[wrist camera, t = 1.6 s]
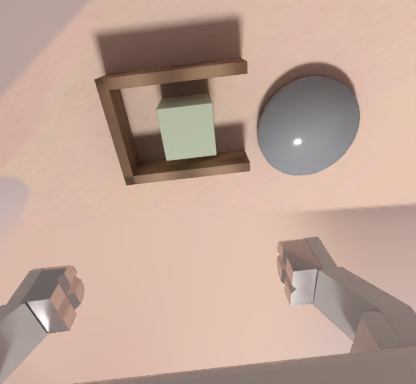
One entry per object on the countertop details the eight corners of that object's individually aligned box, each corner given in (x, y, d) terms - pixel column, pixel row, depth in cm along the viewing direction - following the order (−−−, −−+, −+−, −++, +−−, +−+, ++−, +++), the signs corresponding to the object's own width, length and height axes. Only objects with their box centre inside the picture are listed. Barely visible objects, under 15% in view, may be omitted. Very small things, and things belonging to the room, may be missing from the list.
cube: (209, 92, 28) (211, 103, 24) (213, 138, 30) (216, 155, 26) (162, 98, 28) (156, 109, 24) (170, 143, 30) (166, 160, 26)
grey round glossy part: (362, 69, 27) (369, 70, 26) (345, 165, 33) (350, 170, 32) (256, 82, 27) (258, 83, 26) (257, 175, 33) (259, 180, 32)
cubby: (241, 58, 26) (247, 61, 23) (244, 158, 32) (250, 171, 29) (105, 74, 26) (94, 79, 23) (132, 171, 32) (126, 185, 29)
